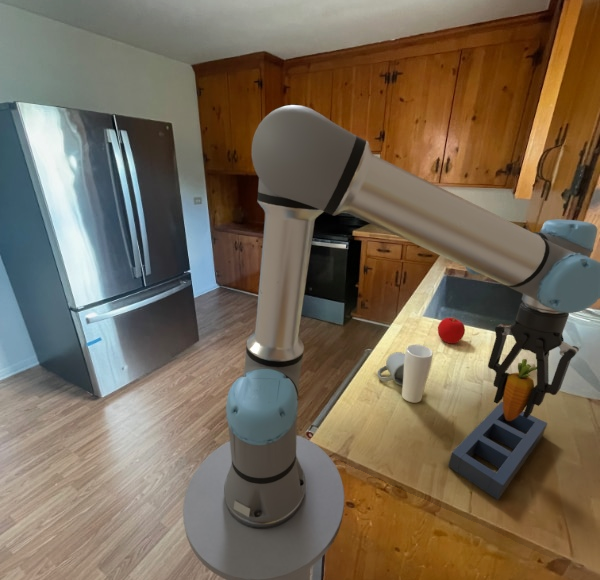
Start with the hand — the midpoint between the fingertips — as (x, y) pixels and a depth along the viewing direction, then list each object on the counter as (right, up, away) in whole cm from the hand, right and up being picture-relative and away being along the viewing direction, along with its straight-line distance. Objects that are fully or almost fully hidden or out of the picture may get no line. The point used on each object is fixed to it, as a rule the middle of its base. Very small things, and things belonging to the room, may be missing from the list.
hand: (512, 407), depth 70 cm
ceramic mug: (-16, -1, +30) cm, 34 cm away
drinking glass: (-14, -4, +22) cm, 26 cm away
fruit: (+10, +8, +52) cm, 54 cm away
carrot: (0, -4, +1) cm, 4 cm away
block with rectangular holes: (0, -11, +5) cm, 12 cm away
